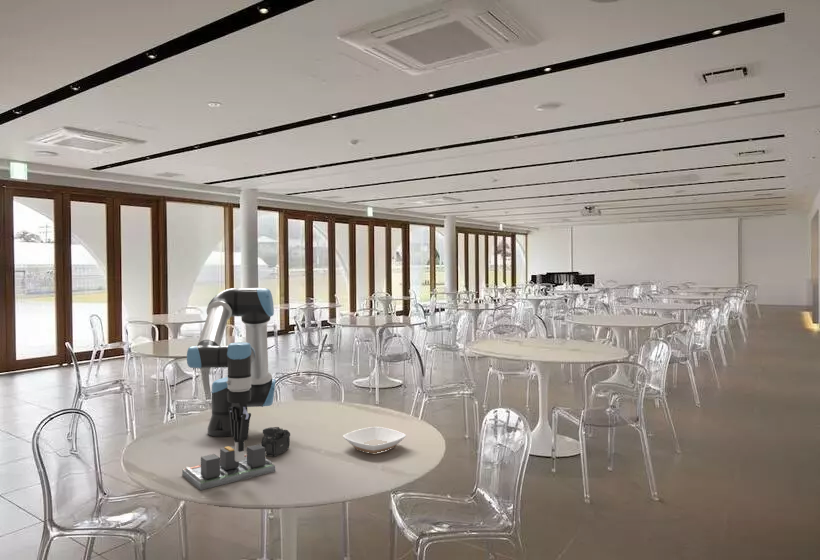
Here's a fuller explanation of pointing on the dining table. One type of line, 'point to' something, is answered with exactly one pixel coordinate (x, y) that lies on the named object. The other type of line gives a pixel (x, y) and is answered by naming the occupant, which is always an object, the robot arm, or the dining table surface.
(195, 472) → the panel
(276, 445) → the camera
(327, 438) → the dining table surface
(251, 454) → the breaker
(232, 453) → the block
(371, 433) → the bowl
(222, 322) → the robot arm
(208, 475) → the block
